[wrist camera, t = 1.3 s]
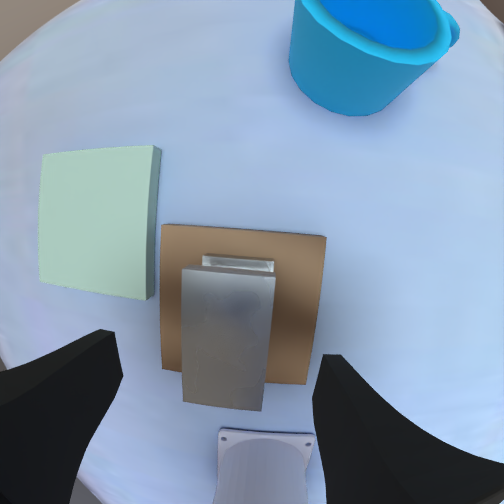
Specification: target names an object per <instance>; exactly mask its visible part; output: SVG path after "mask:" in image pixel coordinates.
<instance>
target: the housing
mask: <svg viewBox="0 0 504 504" xmlns="http://www.w3.org/2000/svg"><path fill="white" fill-rule="evenodd" d="M275 280H276V276H275V272H274V258H261V257H249V256H237V255H226V254H214V253H206V254H205V255H203V257H202V265H191V264H189V265H188V266H186V267H185V268H183V269H182V289H181V354H182V387H183V402H189V403H195V404H201V405H208V406H215V407H222V408H230V409H239V410H250V411H261V409H262V401H263V392H264V384H265V376H266V367H267V358H268V349H269V340H270V330H271V320H272V311H273V300H274V290H275Z"/></svg>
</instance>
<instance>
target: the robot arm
mask: <svg viewBox="0 0 504 504" xmlns="http://www.w3.org/2000/svg"><path fill="white" fill-rule="evenodd" d="M122 378H123V372H122V368H121V363H120V358H119V353H118V348H117V343H116V338H115V332H112V331H107V330H102V329H99V330H97V331H94V332H92V333H90V334H88V335H86V336H84V337H82V338H80V339H78V340H76V341H74V342H72V343H70V344H68V345H66V346H64V347H62V348H60V349H58V350H56V351H54V352H51V353H49V354H47V355H45V356H42V357H40V358H38V359H36V360H33V361H31V362H29V363H26V364H23V365H21V366H18V367H15V368H12V369H9V370H5V371H2V372H0V504H69V502H70V498H71V494H72V489H73V486H74V482H75V479H76V476H77V473H78V470H79V467H80V464H81V461H82V459H83V456H84V453H85V451H86V448H87V446H88V444H89V442H90V440H91V438H92V437H93V435H94V433H95V431H96V429H97V428H98V426H99V424H100V422H101V421H102V419H103V417H104V416H105V414H106V412H107V410H108V409H109V407H110V405H111V403H112V401H113V400H114V398H115V396H116V393H117V391H118V388H119V386H120V383H121V380H122ZM312 404H313V418H314V426H315V431H316V436H317V441H318V446H319V451H320V456H321V461H322V466H323V471H324V477H325V484H326V501H327V504H499V503H501V502H502V501H503V500H504V464H503V463H500V462H496V461H492V460H489V459H485V458H482V457H478V456H475V455H472V454H470V453H467V452H465V451H463V450H460V449H458V448H456V447H453V446H451V445H449V444H447V443H445V442H443V441H442V440H440V439H438V438H436V437H434V436H433V435H431V434H429V433H428V432H426V431H424V430H423V429H421V428H420V427H418V426H417V425H415V424H414V423H413V422H411V421H410V420H408V419H407V418H406V417H404V416H403V415H402V414H401V413H399V412H398V411H397V410H396V409H395V408H393V407H392V406H391V405H390V404H389V403H388V402H387V401H385V400H384V399H383V398H382V397H381V396H380V395H379V394H378V393H377V392H376V391H375V390H374V389H373V388H372V387H371V386H370V385H369V384H368V383H367V382H366V381H365V380H364V379H363V378H362V377H361V376H360V375H359V374H358V373H357V372H356V370H355V369H354V368H353V367H352V366H351V365H350V364H349V363H348V362H347V361H346V360H345V359H344V358H343V356H342V355H330V354H323V357H322V361H321V366H320V370H319V374H318V377H317V381H316V385H315V389H314V393H313V396H312ZM223 437H225V438H223ZM307 443H308V444H307ZM314 443H315V436H314V435H313V434H284V433H265V432H252V431H242V430H233V429H220V430H219V433H218V482H217V487H216V492H215V497H214V501H213V504H308V495H307V485H306V476H305V472H306V469H307V466H308V463H309V459H310V456H311V453H312V450H313V446H314Z"/></svg>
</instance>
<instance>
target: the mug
mask: <svg viewBox="0 0 504 504" xmlns="http://www.w3.org/2000/svg"><path fill="white" fill-rule="evenodd" d="M459 33H460V28H459V26H458V24H457V22H456V21H455V20H454V18H453V17H452V16H451V15H450V14H449V13H447V12H445V11H444V10H442V8H441V6H440V4H439V3H438V2H437V1H436V0H295V6H294V16H293V25H292V34H291V43H290V52H289V65H290V70H291V74H292V77H293V78H294V80H295V81H296V83H297V85H298V86H299V88H300V90H301V91H302V92H303V93H305V94H306V95H307V96H308V97H309V98H310V99H311V100H312V101H313V102H314V103H316V104H318V105H320V106H322V107H324V108H326V109H327V110H329V111H331V112H335V113H339V114H343V115H347V116H368V115H370V114H373V113H376V112H378V111H381V110H382V109H383V108H385V107H386V106H387V105H388V104H389V103H390V102H391V101H392V100H394V99H395V98H396V97H397V96H398V95H399V94H400V93H401V92H402V91H404V90H405V89H406V88H407V87H408V86H409V85H410V84H411V83H413V82H414V81H415V80H416V79H417V78H418V77H419V76H420V75H422V74H423V73H424V72H425V71H426V70H427V69H428V68H430V67H431V66H432V65H433V64H434V63H435V62H436V61H438V60H439V59H440V58H441V57H442V56H443V55H444V54H446V53H447V52H448V49H449V48H450V47H451V46H453V45H454V44H455V43H456V41H457V40H458V39H459Z"/></svg>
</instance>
